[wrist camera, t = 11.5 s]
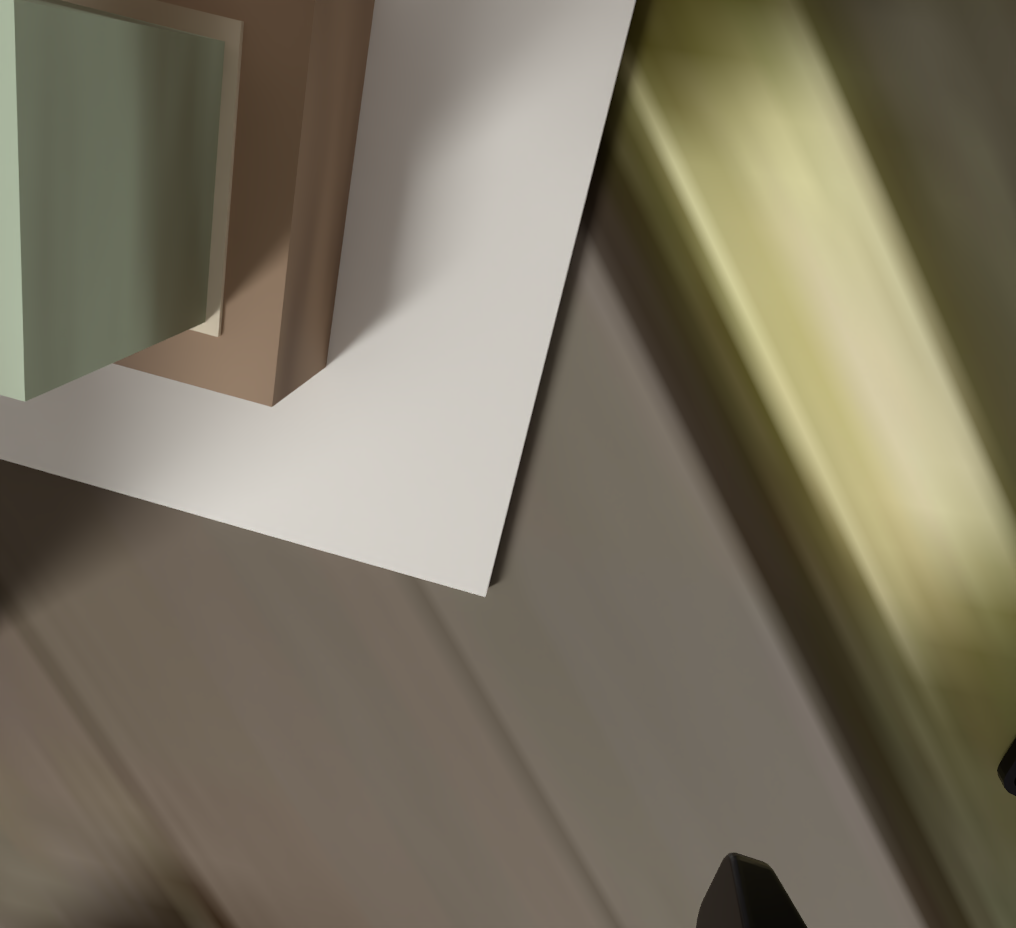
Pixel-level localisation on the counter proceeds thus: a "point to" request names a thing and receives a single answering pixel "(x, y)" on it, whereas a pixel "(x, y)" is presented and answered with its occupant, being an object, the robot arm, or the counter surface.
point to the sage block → (100, 188)
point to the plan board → (360, 278)
